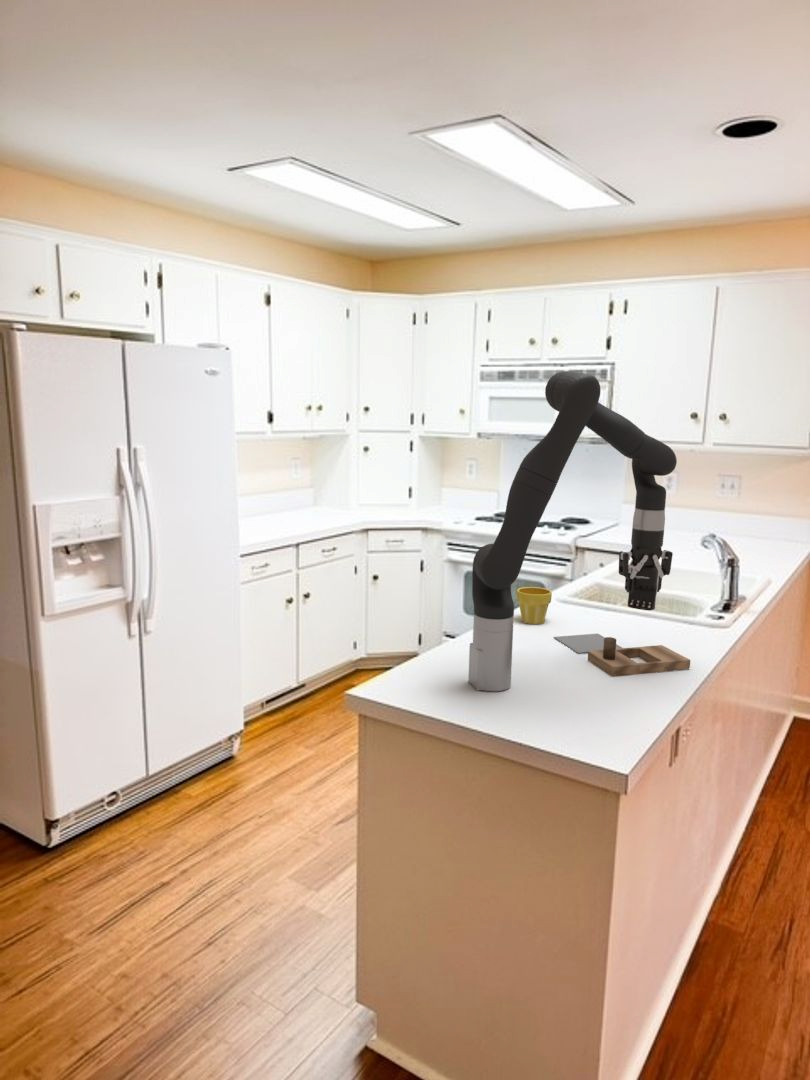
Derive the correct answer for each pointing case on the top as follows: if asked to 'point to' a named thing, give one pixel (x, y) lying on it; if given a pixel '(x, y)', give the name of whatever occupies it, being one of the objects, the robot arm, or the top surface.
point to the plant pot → (533, 604)
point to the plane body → (621, 664)
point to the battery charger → (644, 589)
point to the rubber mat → (583, 642)
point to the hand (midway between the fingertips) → (642, 591)
